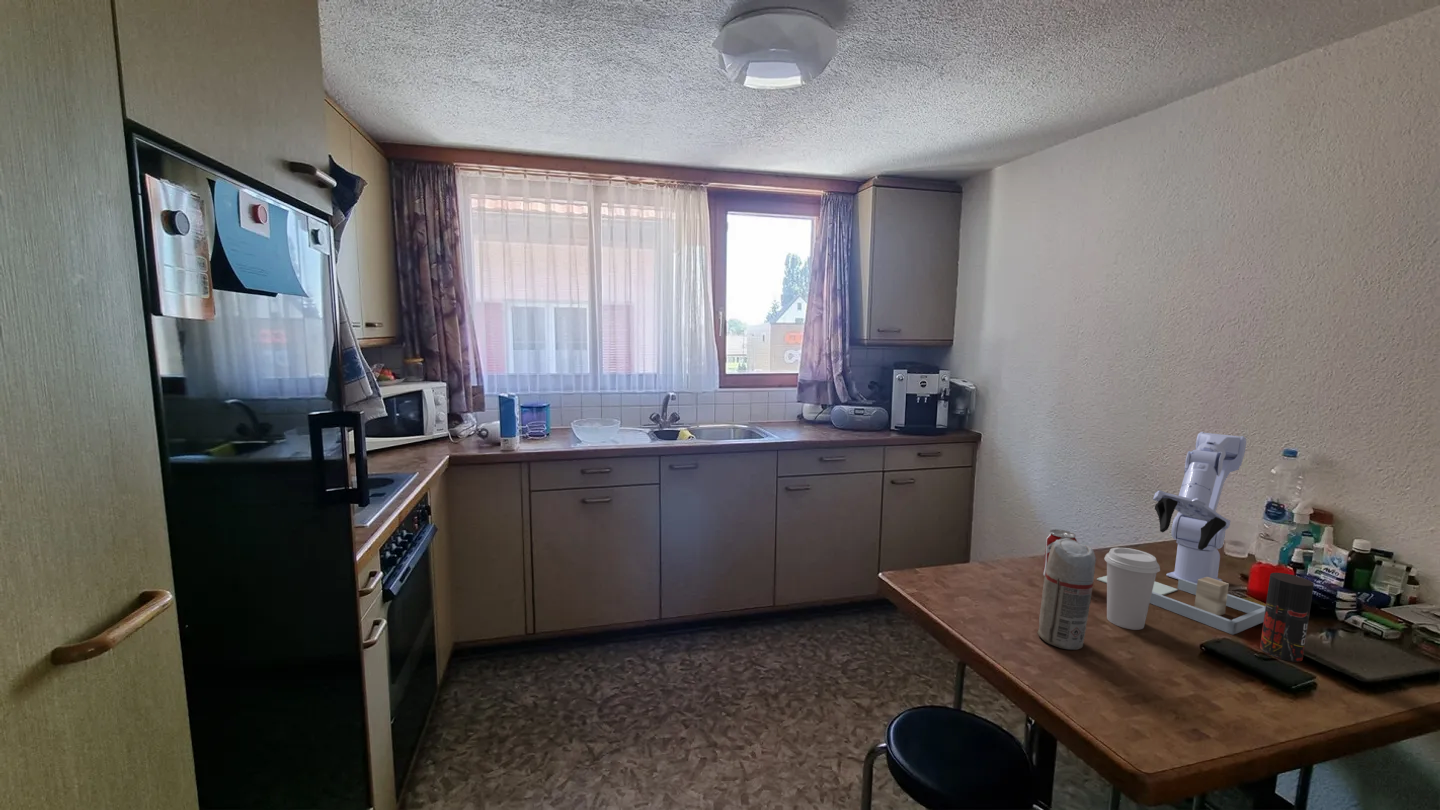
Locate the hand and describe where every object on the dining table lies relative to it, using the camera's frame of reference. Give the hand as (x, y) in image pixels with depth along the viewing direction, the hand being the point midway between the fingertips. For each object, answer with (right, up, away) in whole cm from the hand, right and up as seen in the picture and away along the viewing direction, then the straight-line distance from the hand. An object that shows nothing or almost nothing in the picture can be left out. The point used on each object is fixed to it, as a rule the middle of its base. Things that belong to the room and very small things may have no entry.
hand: (1182, 538), depth 130 cm
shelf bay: (+5, -16, 0) cm, 16 cm away
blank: (+5, -16, -1) cm, 17 cm away
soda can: (-19, -14, +14) cm, 28 cm away
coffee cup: (-18, -16, -7) cm, 25 cm away
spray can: (-36, -17, -15) cm, 43 cm away
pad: (-2, -14, +12) cm, 19 cm away
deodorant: (+5, -18, -18) cm, 26 cm away
